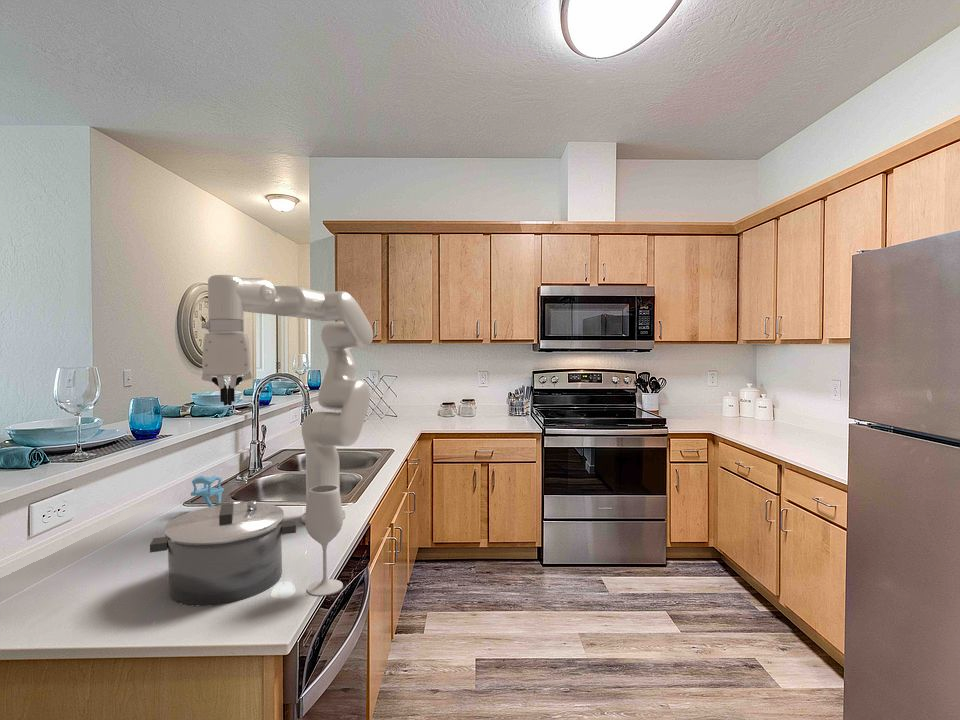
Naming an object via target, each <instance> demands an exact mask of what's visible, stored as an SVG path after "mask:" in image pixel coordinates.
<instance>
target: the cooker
mask: <svg viewBox="0 0 960 720" xmlns="http://www.w3.org/2000/svg"><path fill="white" fill-rule="evenodd" d="M296 533H297V523H296V520H295V519H293V520H287V521H285V520H283V522H282V523H281V524H280V525H279V526H278V527H276V528H274V529H273V530H271V531H268V532H266V533H264V534H261V535H258V536H255V537H251V538H248V539H243V540H239V541H234V542H228V543H221V544H211V545H185V544H178V543H174V542H171V541H169V540H168V539H167V538H166V537H165V536H161V537H153V538H152V540H151V542H150V543H149V553H150V554H151V553H157V552H164V551H165V552H166V551H167V559H168V560H167V563H168V572H167V573H168V596H169V598H170V597H171V598H170V599H171V600H172V601H173V600H174V601H173V602H175V601H176V602H175V603H177V602H178V604H180V603H182V604H181V605H184V604H186V605H185V606H191V605H193V606H194V607H197V606H196V605H202V606H201V607H204V606H203V605H211V606H219V604H220V605H225V603H226V604H229V603H235V602H239V601H242V600H245V599H249V598H251V597H254V596H257V595H259V594H261V593H263V592H265V591H267V590H269V589H270V588H272V587H273V586H275V585H277V583H278V582H279V581H280V579H281V578H282V576H281V575H282V574H283V560H282V559H283V558H282V557H283V555H282V553H283V551H282V549H283V548H282V535H288V534H289V535H290V534H296Z"/></svg>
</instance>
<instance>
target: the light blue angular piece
mask: <svg viewBox="0 0 960 720" xmlns="http://www.w3.org/2000/svg"><path fill="white" fill-rule="evenodd" d="M222 479H223V477H222V476H216V475H212V476H210V477H208V476H203V475H198V476H196V477H195V478H193V479H192V480H191V483H192V486H193V491H192V492H190V496H192V497H196V496H201V497H202V498H203V500H204V501H205V503H206V505H207V506H208V507H213V506H214V505H213V503H212V502H211V501H210V499H209V497H212V496H216V503H222V494H223V492H224V487H222V486H221V483H222ZM216 481H218V482H217V487H211V486H212V484H213V483H214V482H216ZM196 484H197V485H198V484H203V487H201V488H200V489H198V487H197V485H196Z"/></svg>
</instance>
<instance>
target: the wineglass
mask: <svg viewBox="0 0 960 720" xmlns="http://www.w3.org/2000/svg"><path fill="white" fill-rule="evenodd" d="M342 505H343V503H342V498H341V491H340V492H339V488H338V486H335V485H320V486H315V487H312V488H310V489H309V493H308V498H307V504H306V506H305V507H306V508H305V512H304V513H305V523H304V525H305V530H306V531H307V534H308V535H309V536H310V538H312V539H313V540H314V541H316V543H319V544H320V546H321V547H322V575H323V576H322V579H320V580H317V581H314V582H313V583H311V584H309V585H308V586H307V588H306V590H307V594H309V595H311V596H315V597H324V596H331V595H333V594H337V593H339V592H340V591H341V590H342V589H343V587H344V584H343V582H342V581H341V580H338V579H335V578H334V579H331V578H328V571H327V570H328V569H327V568H328V567H327V556H328V555H327V549H328V546H329V543H330V542H332V541H333V539H334V538H336V537H337V535H338V534H339V533H340V531H341V529H342V526H343V522H344V521H343V520H344V518H343V511H344V510H343V506H342ZM342 510H343V511H342Z"/></svg>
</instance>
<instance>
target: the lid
mask: <svg viewBox="0 0 960 720" xmlns="http://www.w3.org/2000/svg"><path fill="white" fill-rule="evenodd" d="M282 522H284V509H283V508H281V507H279V506H277V505H274V504H271V503H264V502H257V500H249V501H247V502H244V500H235V501H234V500H233V501H227V502H226V501H225V502H221V503H217V502H216V503H215V504H214V505H213V507H209V506H208V507H203V508H200V509H196V510H193V511H189V512H186V513H184V514H182V515H181V514H180V515H179V516H177V517H175V518H173V519H171V520H170V521H168V523H166V524H165V527H164V537H166V538H167V539H168V540H169V541H171V542H174V543H178V544H185V545H211V544H221V543H228V542H234V541H239V540H243V539H248V538H251V537H255V536H258V535H261V534H264V533H266V532H268V531H271V530H273V529H274V528H276V527H278V526H279V525H280V524H281V523H282Z"/></svg>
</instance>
